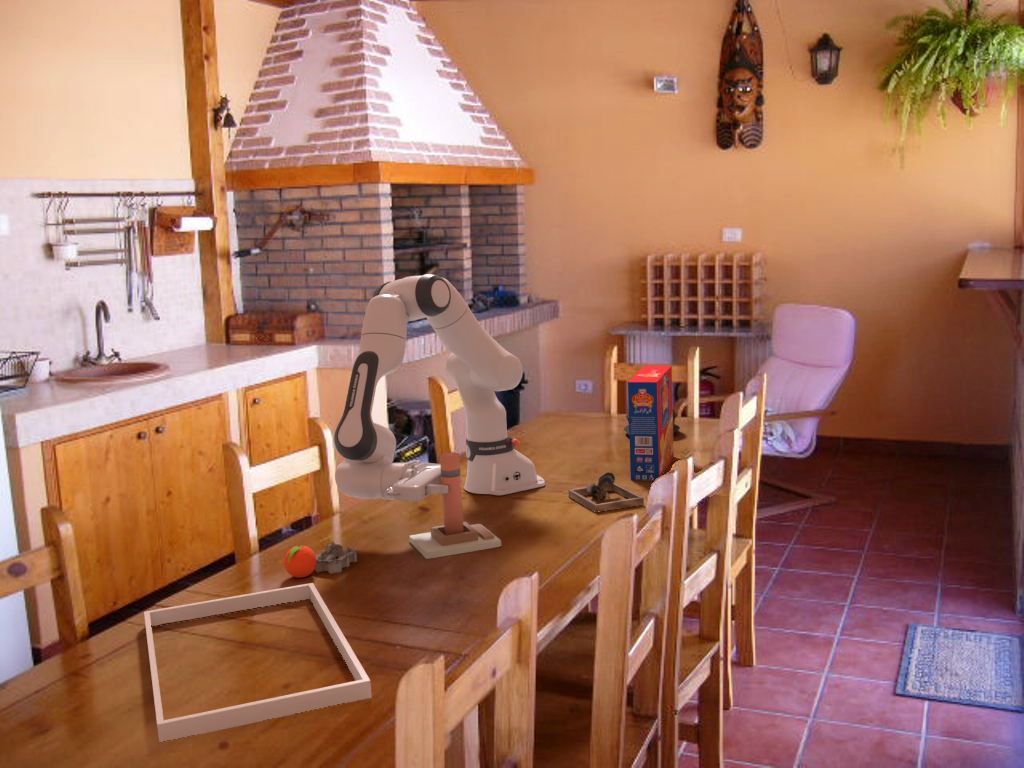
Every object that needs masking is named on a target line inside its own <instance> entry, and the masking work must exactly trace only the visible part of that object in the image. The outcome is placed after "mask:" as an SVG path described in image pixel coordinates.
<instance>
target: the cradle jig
mask: <svg viewBox="0 0 1024 768" xmlns="http://www.w3.org/2000/svg"><path fill="white" fill-rule="evenodd" d="M463 529H464V533H458V534H452V535H446V536H445V528H444V524H442V525H438V526H432V527H430V532H423V533H417V534H410V535H409V537H408V538H409V543H410V544H411V545H412V546H413V547H414V548H415V549H416V551H418V552H419V553H420V554H421V555H422V556H423V558H424V559H426V560H429V559H436V558H442V557H446V556H452V555H453V556H454V555H458V554H464V553H471V552H477V551H482V550H488V549H495V548H500V546H501V547H502V540H501V538H499V537H498V536H496V535H495V534H494V533H492V531H490V530H489V529H488V528H486V527H485V526H483V524H481V523H476V524H469V523H468V522H467V521H463Z"/></svg>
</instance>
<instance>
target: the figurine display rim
mask: <svg viewBox="0 0 1024 768" xmlns="http://www.w3.org/2000/svg"><path fill="white" fill-rule="evenodd" d="M610 486H611V488H610V490H609V491H611V492H614V491H615V492H614V493H616V492H617V493H616V494H618V493H619V494H618V495H620V494H621V495H620V496H622V495H623V496H625V497H627V498H628V499H627V498H625V497H624V498H625V499H621V500H616V501H608V502H602V503H597V502H594V501H593V500H590V499H588V498H587V497H585V496H589V495H588V494H591V495H594V493H590V492H587V486H584V487H578V488H577V487H576V488H573V489H568V492H567V493H568V498H569V497H570V498H569V499H571V498H572V499H571V500H573V499H574V500H575V501H574V500H573V501H574V502H576V501H577V502H576V503H578V502H579V503H580V505H581V504H582V506H583V505H584V506H583V507H585V506H586V507H587V508H586V507H585V508H586V509H588V508H589V509H588V510H590V509H591V510H593V511H595V512H598V511H605V510H612V511H614V510H613V509H618V508H624V509H627V508H626V507H630V508H633V507H632V506H636V507H640V506H639V505H642V506H644V503H645V502H644V500H645V499H644V497H642V495H638V494H637V493H635V492H633V491H631V490H629V489H627V488H626V487H623V486H621V484H617V483H615V482H614V483H613V484H612V485H610ZM610 486H608V487H606V489H608V488H609V487H610ZM582 495H585V496H582ZM623 496H622V497H623ZM579 503H578V504H579ZM591 510H590V511H591ZM618 510H619V509H618ZM593 511H592V512H593ZM595 512H594V513H595ZM605 512H606V511H605Z"/></svg>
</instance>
